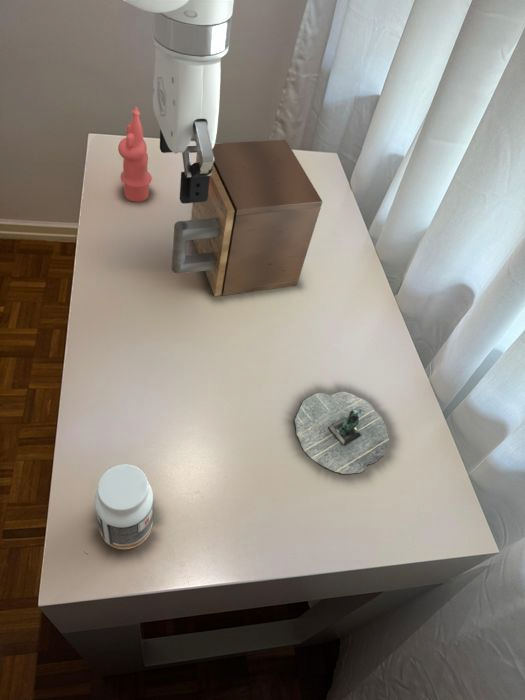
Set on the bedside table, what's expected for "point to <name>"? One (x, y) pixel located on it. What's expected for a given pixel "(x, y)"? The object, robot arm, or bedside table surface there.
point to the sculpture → (341, 432)
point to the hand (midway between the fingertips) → (182, 175)
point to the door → (206, 235)
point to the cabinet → (265, 214)
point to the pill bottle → (124, 506)
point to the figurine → (135, 161)
